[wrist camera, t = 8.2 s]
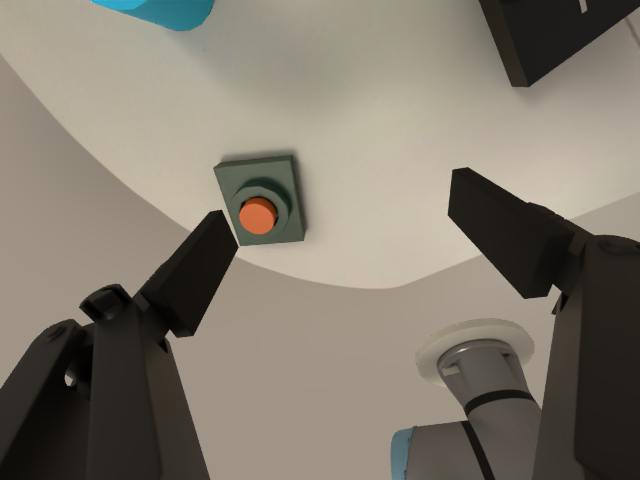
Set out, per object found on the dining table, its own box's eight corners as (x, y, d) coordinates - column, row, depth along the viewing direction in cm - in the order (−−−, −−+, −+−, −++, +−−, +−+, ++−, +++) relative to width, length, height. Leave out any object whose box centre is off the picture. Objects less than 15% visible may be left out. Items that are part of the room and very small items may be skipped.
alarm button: (279, 225, 31) (277, 232, 29) (248, 228, 31) (244, 235, 29) (272, 195, 28) (269, 202, 27) (239, 199, 29) (234, 205, 27)
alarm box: (305, 232, 35) (303, 248, 32) (244, 237, 36) (236, 254, 33) (292, 154, 29) (288, 164, 26) (219, 162, 30) (206, 172, 27)
